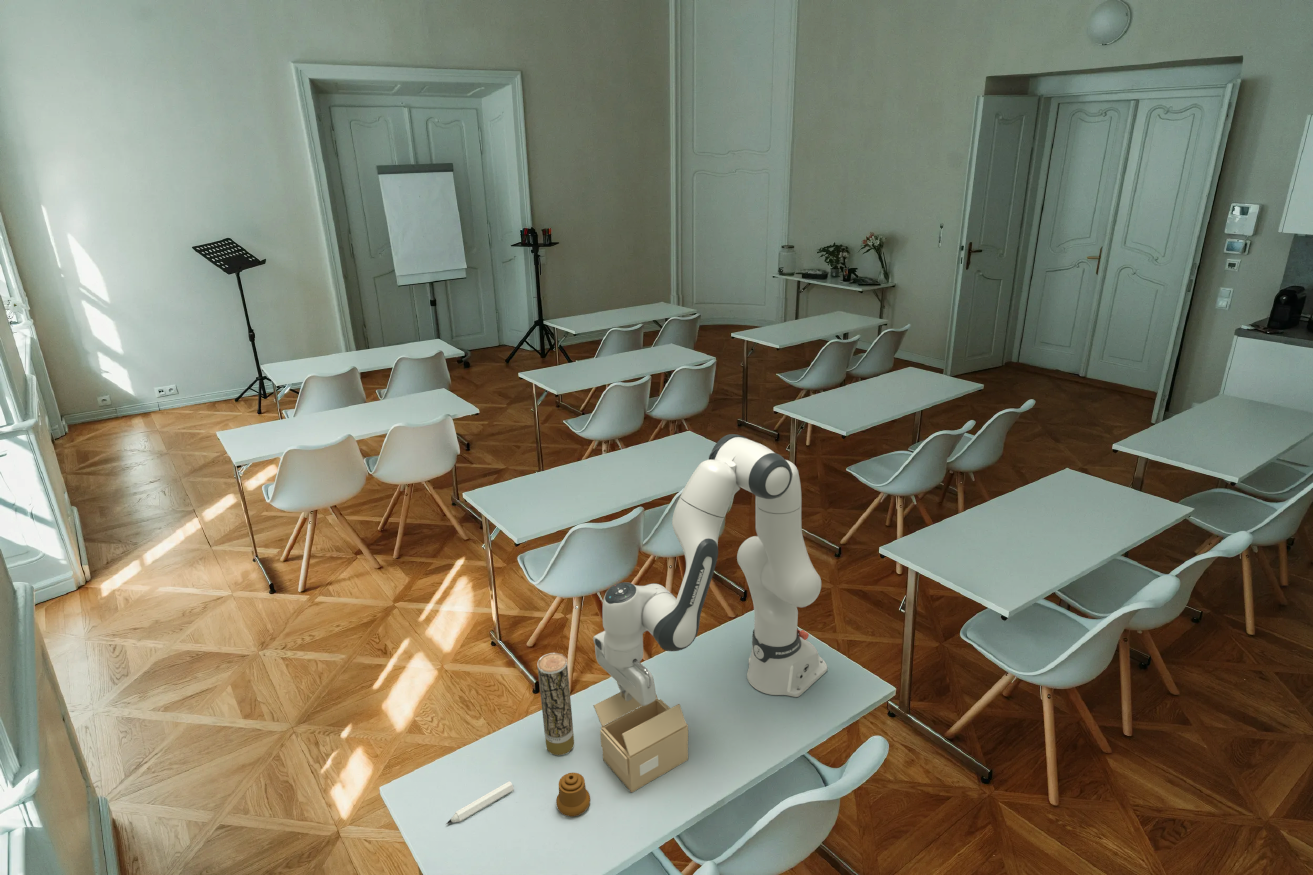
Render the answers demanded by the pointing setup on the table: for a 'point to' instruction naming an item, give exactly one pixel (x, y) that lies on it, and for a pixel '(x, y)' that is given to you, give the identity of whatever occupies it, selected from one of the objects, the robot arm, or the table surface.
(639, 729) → the flap near
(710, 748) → the table surface
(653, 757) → the carton
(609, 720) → the flap far
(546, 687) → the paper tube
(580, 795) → the ornamental finial
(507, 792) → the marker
